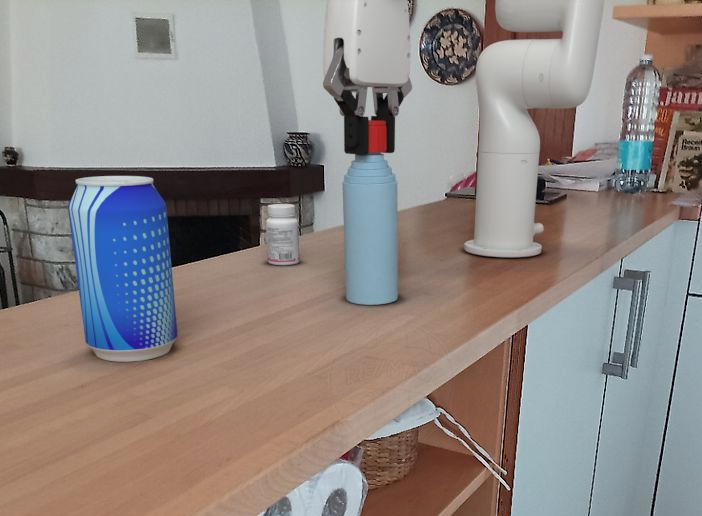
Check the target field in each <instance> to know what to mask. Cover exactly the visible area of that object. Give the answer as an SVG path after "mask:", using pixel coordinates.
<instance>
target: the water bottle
mask: <svg viewBox="0 0 702 516" xmlns="http://www.w3.org/2000/svg"><path fill="white" fill-rule="evenodd" d="M350 166H351V167H350ZM350 166H349V167H348V168H347V172H348V174H347V173H345V174H344V175H343V177H344V178H343V180H342V183H341V184H342V212H343V240H344V241H343V242H344V243H343V244H344V245H343V246H344V247H343V248H344V276H345V279H344V280H345V299H346V301H347V302H350V303H352V304H356V305H364V306H376V305H377V306H378V305H385V304H390V303H393V302H396V301H397V300H398V299H399V253H398V252H399V247H398V243H399V239H398V238H399V237H398V236H399V234H398V180H397V179H396V173H394V172H392V170H393V169H392V167H391V166H389V162H388V160H387V159H385V153H381V152H379V153H368V154H366V155H359V154H354V159H353V160H351V164H350ZM388 166H389V167H388Z"/></svg>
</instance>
